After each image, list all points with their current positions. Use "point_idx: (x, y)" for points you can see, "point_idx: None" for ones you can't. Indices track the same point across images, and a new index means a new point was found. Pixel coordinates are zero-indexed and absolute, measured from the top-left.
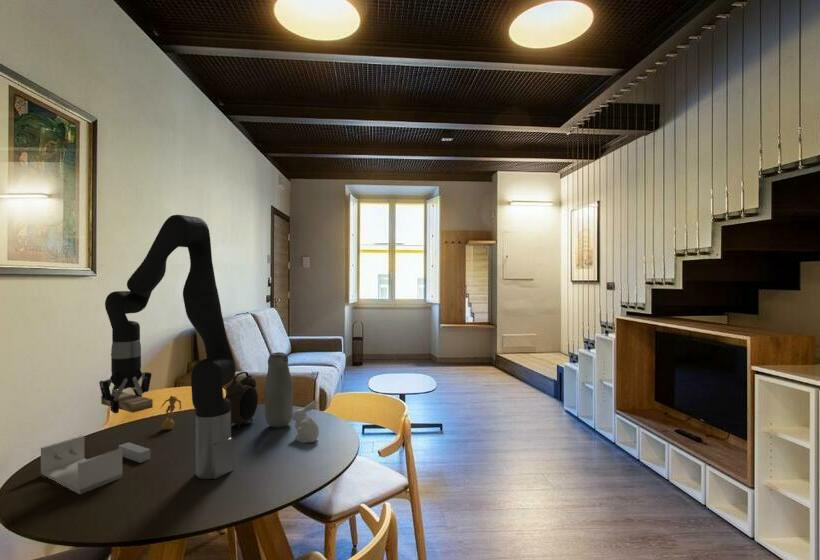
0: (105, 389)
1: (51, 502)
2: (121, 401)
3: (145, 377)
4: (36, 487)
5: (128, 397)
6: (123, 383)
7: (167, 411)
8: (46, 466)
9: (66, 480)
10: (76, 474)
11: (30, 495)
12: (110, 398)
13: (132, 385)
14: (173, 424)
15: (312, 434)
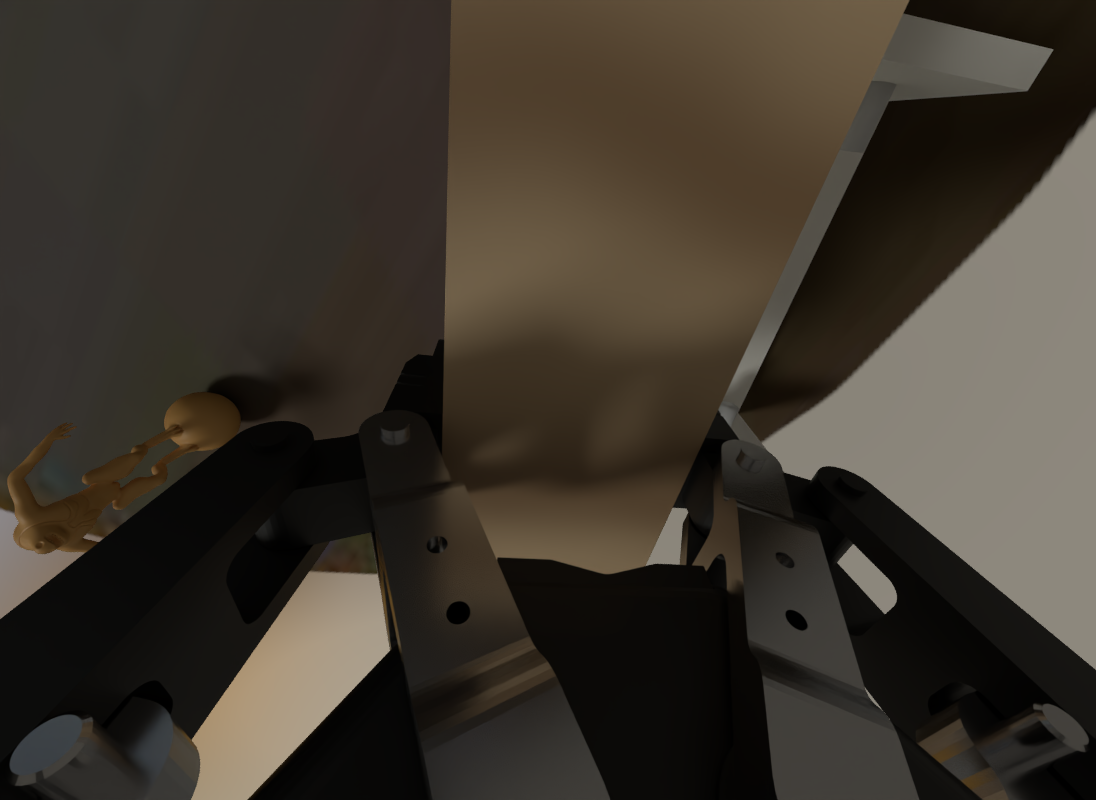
0: (1054, 645)
1: (943, 137)
2: (731, 374)
3: (62, 777)
4: (807, 339)
5: (557, 454)
6: (837, 692)
7: (155, 475)
8: (735, 422)
9: (800, 257)
10: None
11: (867, 293)
12: (843, 480)
13: (526, 596)
14: (181, 397)
15: None
